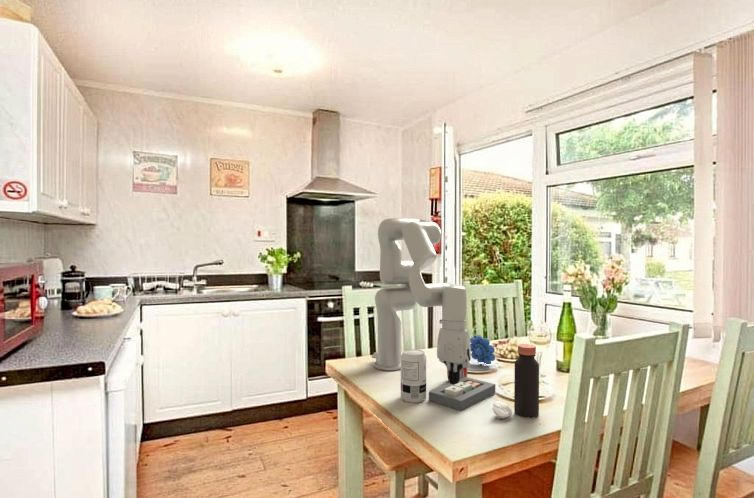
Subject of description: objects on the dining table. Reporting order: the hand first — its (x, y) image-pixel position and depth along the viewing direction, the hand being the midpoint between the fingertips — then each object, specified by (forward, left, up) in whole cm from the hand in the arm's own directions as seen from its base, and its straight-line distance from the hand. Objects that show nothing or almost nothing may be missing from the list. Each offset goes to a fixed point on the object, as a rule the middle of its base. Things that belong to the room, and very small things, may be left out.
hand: (454, 383), depth 138 cm
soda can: (-10, +17, -6) cm, 21 cm away
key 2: (0, +5, -4) cm, 7 cm away
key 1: (0, 0, -4) cm, 4 cm away
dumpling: (+17, -1, -6) cm, 18 cm away
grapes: (-14, +40, -6) cm, 43 cm away
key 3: (0, +10, -5) cm, 12 cm away
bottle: (+21, +6, -6) cm, 23 cm away
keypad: (0, +5, -6) cm, 8 cm away
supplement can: (-11, -7, -6) cm, 14 cm away
